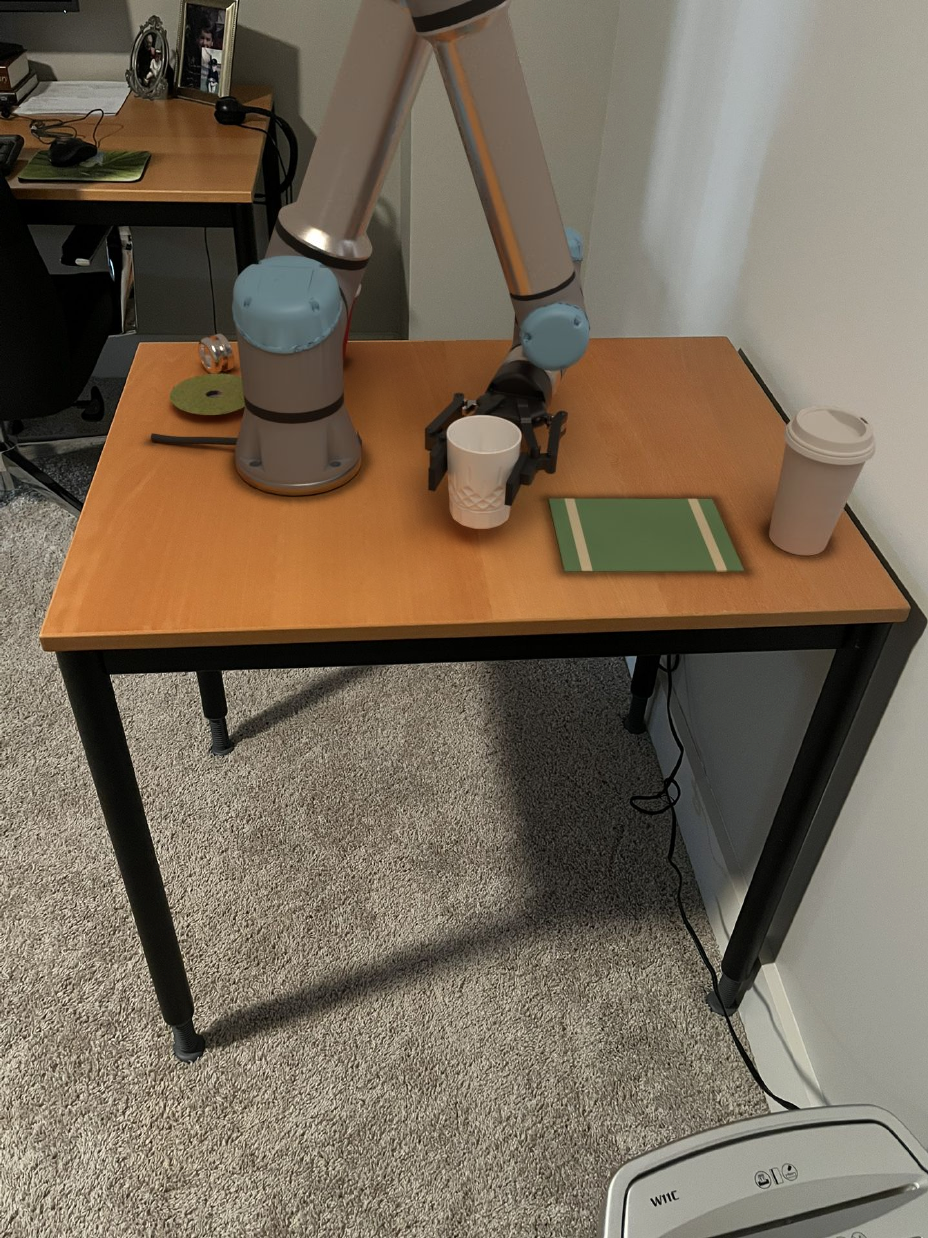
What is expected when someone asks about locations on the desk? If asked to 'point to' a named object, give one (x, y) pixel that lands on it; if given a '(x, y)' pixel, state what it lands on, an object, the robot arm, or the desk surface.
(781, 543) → the coffee cup
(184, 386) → the green sanding disc
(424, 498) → the desk surface
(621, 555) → the cloth
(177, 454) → the desk surface
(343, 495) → the desk surface
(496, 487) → the white cup
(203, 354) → the metal grooved wheel
